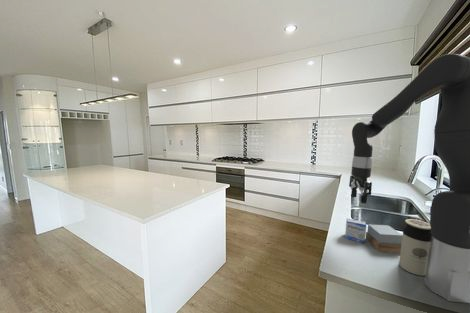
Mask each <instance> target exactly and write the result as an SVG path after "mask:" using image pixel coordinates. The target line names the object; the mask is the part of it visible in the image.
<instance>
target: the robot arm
mask: <svg viewBox="0 0 470 313" xmlns="http://www.w3.org/2000/svg"><path fill="white" fill-rule="evenodd" d="M438 87H439V89H440V94H441V108H440V112H439V114H438V117H437V118H436V121H435V125H434V129H433V130H434V131H433V132H434V133H433V135H434V146H435V151H436V153H437V155H438V157H439V158H440V161H441V162H442V164H443V165H444V168H446V171H447V174H448V180H449V190H445V191H441V192H438V193H437V194H435V195H434V196H433V197H432V198H433V199H432V201H431V204H430V205H431V206H430V213H429V214H430V216H429V224H430V227H431V229H432V230H431V233H432V237H431V243H430V250H429V256H428V263H427V270H426V275H425V279H424V284H425V286H426V287H427V288H428V289H429V290H430V291H431V292H433V293H434V294H436V295H437V294H438V296H440V297H441V298H442V299H445V300H446V301H447V302H455V303H465V304H470V57H468V56H465V55H462V54H457V53H446V54H443V55H441V56H438V57H437V58H435V59H433V60H432V61H431V62H429V63H428V65H427V66H425V68H424V69H422V71H421V72H420V73H419V74H417V76H416V77H414V79H413V80H411V81H410V82H409V83H408V84H407V85H406V86H405V87H404V88H403V89H402V90H401V91H400V92H399V93H398V94H397V95H396V96H394V97H393V98H392V99H391V100H390V101H388V102H387V103H386V104H384V105H383V106H382V107H381V108H379V109H378V110H376V111H375V112H374V113H373V114H372V116H371V120H370V121H368V122H367V121H366V122H365V121H364V122H363V121H359V122H357V123H355V124H354V125H353V126H352V129H351V130H352V131H351V136H352V142H353V146H354V147H353V148H354V150H353V158H352V162H351V172H350V173H351V175H350V176H349V185H348V186H349V188H350V189H351V193H350V197H351V198H357V194H358V191H360V203H361V204H363V205H364V204H365V205H366V204H367V203H368V202H367V200H368V196H371V195H372V190H373V189H372V186H373V185H372V184H373V182H372V181H368V178H371V176H372V174H371V173H372V165H373V160H372V159H373V151H374V150H373V145H372V144H370V143H368V142H369V141H368V139H371V138H374V137H376V136H378V135H379V134H381V132H382V131H383V130H384V129H385V128H386V127H387V126H388V125H390V124H392V123H393V122H395V121H396V120H398V119H399V118H400V117H402V116H403V115H404V114H406V112H408V110H409V109H410V108H411V107H412V105H414V103H415V102H417V101H418V100H419V99H420V98H421V97H423V96H424V95H426V94H427V93H429V92H430V91H433V90H434V89H436V88H438Z"/></svg>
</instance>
